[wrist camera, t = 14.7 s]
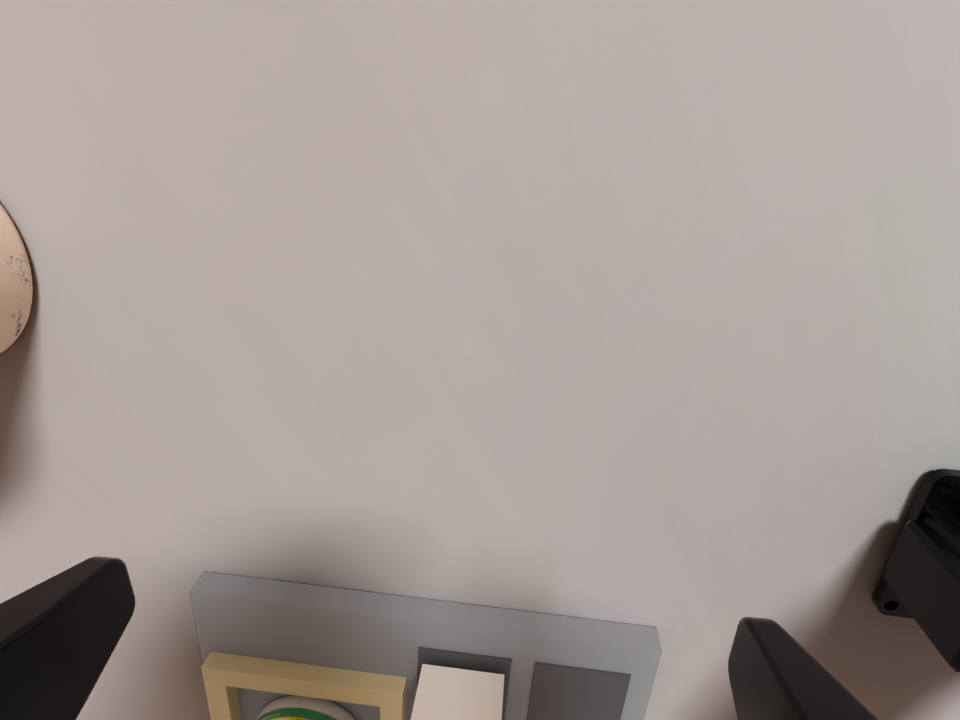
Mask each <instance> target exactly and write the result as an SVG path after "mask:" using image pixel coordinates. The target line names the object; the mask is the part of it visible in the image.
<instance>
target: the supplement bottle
mask: <svg viewBox="0 0 960 720" xmlns="http://www.w3.org/2000/svg"><path fill="white" fill-rule="evenodd" d="M256 720H355V719H354V718H353V717H352V716H351V715H350V714H349V713H348V712H347V711H346V710H344V709H343V708H342V707H340V706H338V705H337V704H335V703H333V702H330V701H328V700H325V699H319V698H311V697H304V696H297V695H292V696H287V697H283V698H280V699H277V700H275V701H273V702H271V703H270V704H269V705H267V706H266V707H265V708H264V709H263V710H262V711H261V712H260V714H259V715H258V717H257V719H256Z"/></svg>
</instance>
